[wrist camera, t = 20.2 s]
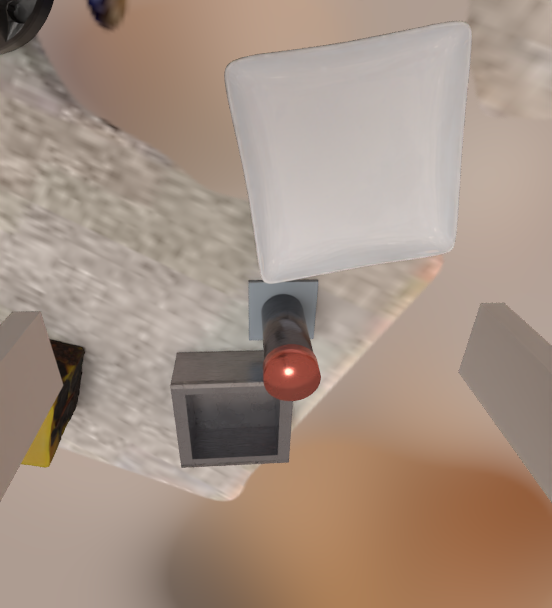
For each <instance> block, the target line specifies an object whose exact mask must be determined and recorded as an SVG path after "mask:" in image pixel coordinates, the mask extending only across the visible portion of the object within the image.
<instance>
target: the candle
mask: <svg viewBox="0 0 552 608" xmlns="http://www.w3.org/2000/svg"><path fill="white" fill-rule="evenodd" d="M50 343H51V347H52V350H53V353H54V356H55V360H56V363H57V366H58V369H59V373H60V376H61V379H62V382H63V387H62V389H61V390H60V392H59V394H58V396H57V398H56V400H55V402H54V403H53V405H52V407H51V409H50V411H49V413H48V414H47V416H46V418H45V420H44V422H43V424H42V426H41V427H40V429H39V431H38V433H37V435H36V437H35V439H34V440H33V442H32V444H31V446H30V448H29V450H28V451H27V453H26V455H25V457H24V459H23V461H22V463H21V464H24V465H32V466H40V467H49V465H50V463H51V461H52V459H53V457H54V454H55V452H56V450H57V447H58V445H59V442H60V440H61V436H62V435H63V433H64V430H65V428H66V426H67V424H68V422H69V421H70V419H71V417H72V415H73V412H74V411H75V409H76V404H77V401H78V395H79V388H80V380H81V374H82V372H81V369H82V362H83V355H84V353H85V352H84V350H83V349H82V347H77V346H73V345H68V344H62V343H60V342H56V341H51V340H50Z"/></svg>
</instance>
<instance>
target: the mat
mask: <svg viewBox="0 0 552 608" xmlns="http://www.w3.org/2000/svg"><path fill="white" fill-rule="evenodd" d="M317 292H318V280H292V281H286V282H280V283H274V284H268V283H265V282H264V281H263V280H259V281H249V340H263V332H262V317H261V310H262V307H263V305H264V303H265V302H266V301H267V300H268V299H269V298H271V297H273V296H275V295H279V294H287V295H291V296H293V297H295V298H297V299H298V300H299V301H300V303H301V304H302V307H303V311H304V315H305V320H306V324H307V328H308V333H309V337H310V339H313V337H314V326H315V314H316V303H317Z"/></svg>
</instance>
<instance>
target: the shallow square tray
mask: <svg viewBox="0 0 552 608" xmlns="http://www.w3.org/2000/svg"><path fill="white" fill-rule="evenodd" d="M263 362H264V351H229V352H192V353H177V356H176V361H175V366H174V370H173V375H172V380H171V385H170V386H171V394H172V401H173V408H174V416H175V423H176V430H177V438H178V445H179V453H180V460H181V467H182V468H185V467H205V466H225V465H245V464H265V463H284V462H289V451H290V436H291V420H292V404H293V401H283V400H279V399H277V398H275V397H273V396H271V395H270V394H269V393H268V392H267V390H266V389H265V386H264V380H263Z"/></svg>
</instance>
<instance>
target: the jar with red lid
mask: <svg viewBox="0 0 552 608" xmlns="http://www.w3.org/2000/svg"><path fill="white" fill-rule="evenodd" d="M261 317H262V332H263V347H264V362H263V380H264V386H265V389H266V390H267V392H268V393H269V394H270V395H271V396H273V397H275V398H277V399H279V400H283V401H297V400H301V399H304V398H306V397H308V396H309V395H311V394H312V393H313V392H314V391H315V390H316V389H317V388H318V386H319V384H320V380H321V375H320V371H319V366H318V362H317V359H316V356H315V355H314V353H313V350H312V346H311V341H310V337H309V333H308V328H307V324H306V320H305V315H304V311H303V307H302V304H301V303H300V301H299V300H298V299H297V298H295V297H293V296H291V295H287V294H279V295H275V296H273V297H271V298H269V299H268V300H267V301H266V302H265V303H264V305H263V307H262V310H261Z"/></svg>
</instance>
